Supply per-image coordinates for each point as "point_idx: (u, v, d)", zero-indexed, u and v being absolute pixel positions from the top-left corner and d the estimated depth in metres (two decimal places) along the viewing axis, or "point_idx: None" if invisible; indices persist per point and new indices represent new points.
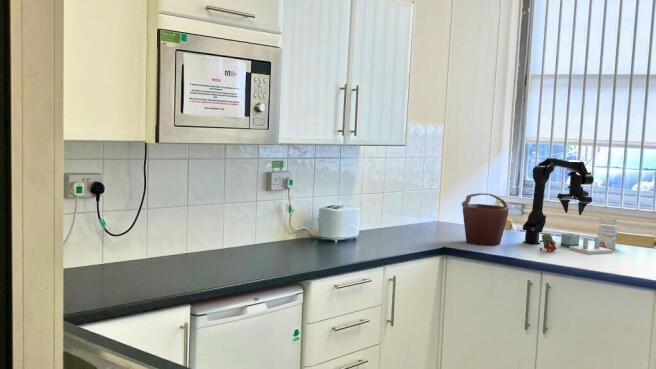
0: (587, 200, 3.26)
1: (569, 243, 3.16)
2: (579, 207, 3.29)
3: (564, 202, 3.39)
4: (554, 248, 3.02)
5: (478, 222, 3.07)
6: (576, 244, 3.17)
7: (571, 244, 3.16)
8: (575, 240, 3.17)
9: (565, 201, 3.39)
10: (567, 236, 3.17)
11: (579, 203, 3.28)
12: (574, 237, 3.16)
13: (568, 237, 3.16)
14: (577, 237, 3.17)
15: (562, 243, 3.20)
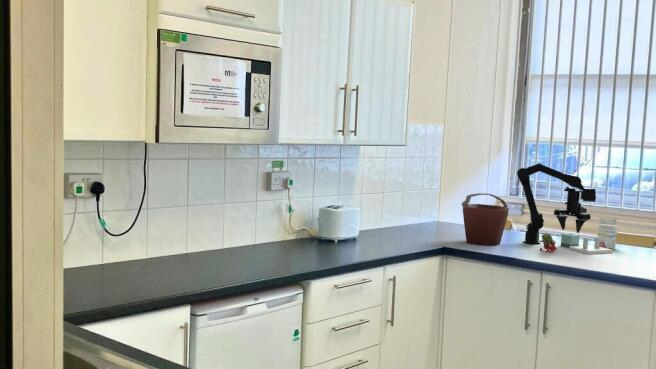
0: (585, 217, 3.10)
1: (569, 243, 3.16)
2: (577, 224, 3.13)
3: (561, 219, 3.22)
4: (554, 248, 3.02)
5: (478, 222, 3.07)
6: (576, 244, 3.17)
7: (571, 244, 3.16)
8: (575, 240, 3.17)
9: (562, 218, 3.23)
10: (567, 236, 3.17)
11: (577, 220, 3.12)
12: (574, 237, 3.16)
13: (568, 237, 3.16)
14: (577, 237, 3.17)
15: (562, 243, 3.20)
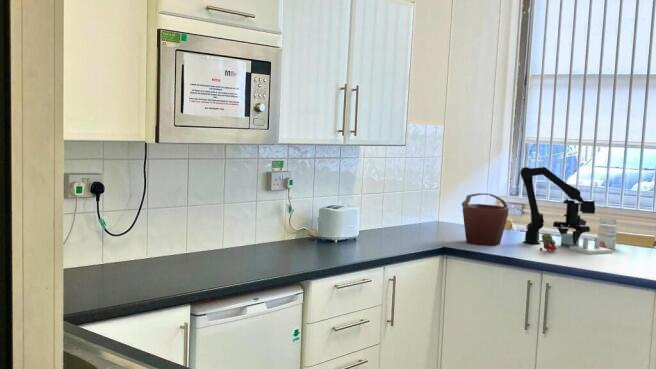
0: (584, 230, 3.10)
1: (569, 243, 3.16)
2: (574, 236, 3.15)
3: (562, 231, 3.21)
4: (554, 248, 3.02)
5: (478, 222, 3.07)
6: (576, 244, 3.17)
7: (571, 244, 3.16)
8: None
9: (563, 230, 3.22)
10: (567, 236, 3.17)
11: (574, 232, 3.14)
12: None
13: (568, 237, 3.16)
14: None
15: (562, 243, 3.20)
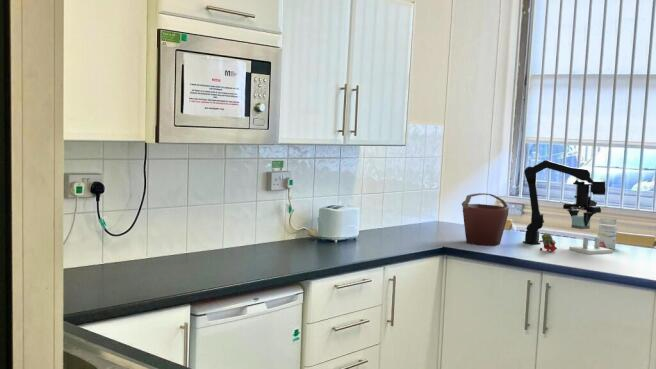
0: (596, 210, 3.06)
1: (580, 225, 3.12)
2: (585, 218, 3.11)
3: (573, 213, 3.17)
4: (554, 248, 3.02)
5: (478, 222, 3.07)
6: (587, 226, 3.14)
7: (582, 226, 3.12)
8: None
9: (574, 212, 3.18)
10: (578, 218, 3.13)
11: (585, 213, 3.10)
12: None
13: (579, 219, 3.13)
14: None
15: (573, 225, 3.16)
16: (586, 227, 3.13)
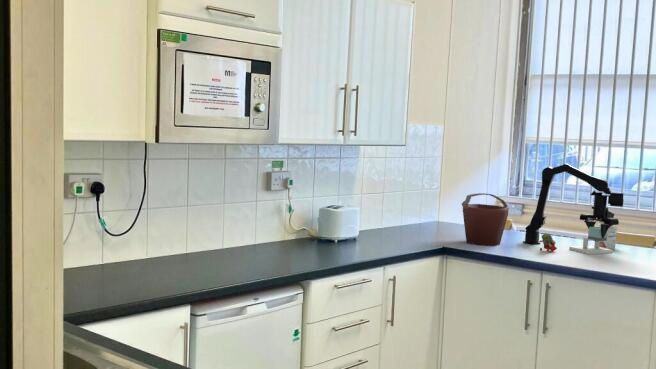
0: (613, 222, 3.00)
1: (597, 236, 3.06)
2: (602, 229, 3.05)
3: (590, 224, 3.11)
4: (554, 248, 3.02)
5: (478, 222, 3.07)
6: (604, 237, 3.07)
7: (599, 237, 3.06)
8: None
9: (591, 223, 3.12)
10: (595, 229, 3.07)
11: (602, 225, 3.03)
12: None
13: (596, 230, 3.06)
14: None
15: (589, 236, 3.10)
16: (603, 239, 3.07)
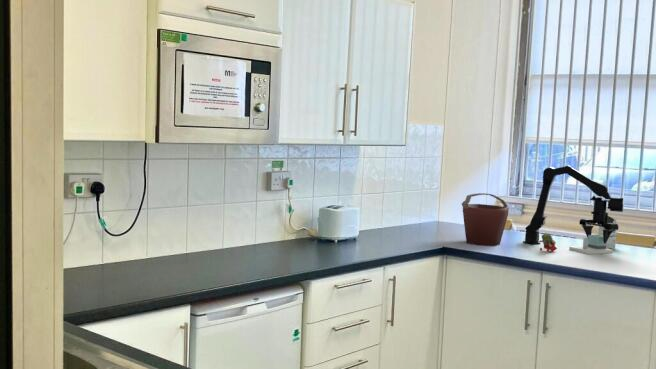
0: (613, 228, 3.00)
1: (596, 244, 3.06)
2: (604, 235, 3.03)
3: (587, 229, 3.13)
4: (554, 248, 3.02)
5: (478, 222, 3.07)
6: (603, 245, 3.08)
7: (598, 245, 3.06)
8: (603, 241, 3.07)
9: (588, 227, 3.13)
10: (594, 237, 3.07)
11: (604, 231, 3.02)
12: (602, 238, 3.07)
13: (595, 238, 3.07)
14: None
15: (589, 244, 3.10)
16: (602, 247, 3.07)
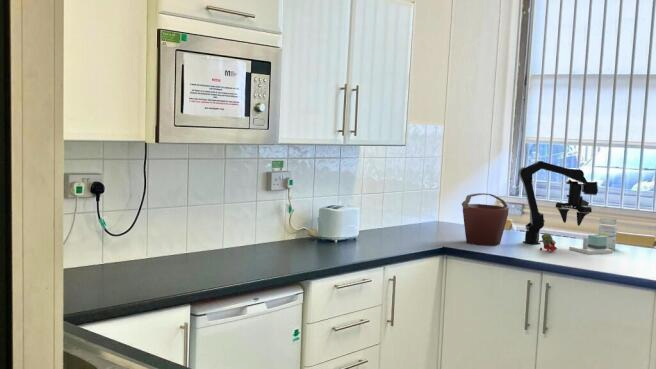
0: (586, 210, 3.11)
1: (596, 244, 3.06)
2: (578, 217, 3.14)
3: (562, 211, 3.24)
4: (554, 248, 3.02)
5: (478, 222, 3.07)
6: (603, 245, 3.08)
7: (598, 245, 3.06)
8: (603, 241, 3.07)
9: (564, 210, 3.24)
10: (594, 237, 3.07)
11: (578, 213, 3.13)
12: (602, 238, 3.07)
13: (595, 238, 3.07)
14: (605, 238, 3.07)
15: (589, 244, 3.10)
16: (602, 247, 3.07)
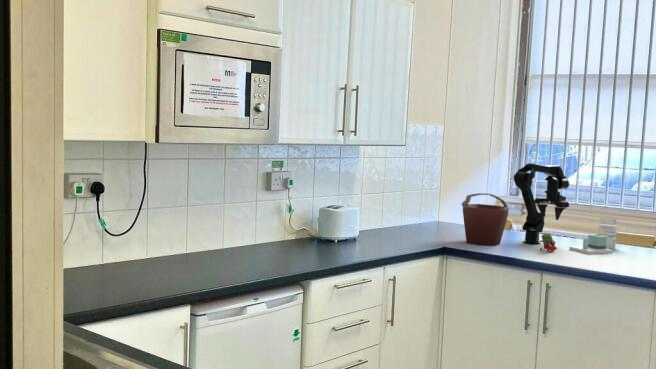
0: (564, 205, 3.22)
1: (596, 244, 3.06)
2: (556, 212, 3.25)
3: (541, 207, 3.34)
4: (554, 248, 3.02)
5: (478, 222, 3.07)
6: (603, 245, 3.08)
7: (598, 245, 3.06)
8: (603, 241, 3.07)
9: (542, 206, 3.35)
10: (594, 237, 3.07)
11: (556, 208, 3.24)
12: (602, 238, 3.07)
13: (595, 238, 3.07)
14: (605, 238, 3.07)
15: (589, 244, 3.10)
16: (602, 247, 3.07)
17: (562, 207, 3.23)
